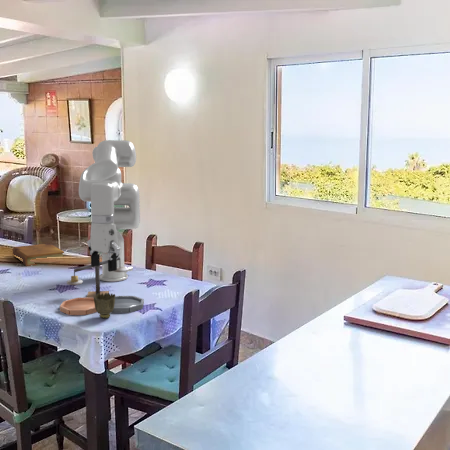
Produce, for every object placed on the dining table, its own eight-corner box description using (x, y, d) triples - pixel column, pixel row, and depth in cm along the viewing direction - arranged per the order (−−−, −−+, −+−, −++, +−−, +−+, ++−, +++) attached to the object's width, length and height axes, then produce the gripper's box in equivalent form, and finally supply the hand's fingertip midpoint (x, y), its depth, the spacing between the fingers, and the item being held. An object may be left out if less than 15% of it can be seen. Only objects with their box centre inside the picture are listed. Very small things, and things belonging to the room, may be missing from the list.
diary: (13, 258, 273) (12, 247, 272) (49, 253, 284) (49, 243, 283) (25, 267, 254) (25, 255, 253) (64, 262, 265) (64, 251, 264)
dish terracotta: (87, 299, 206) (87, 295, 206) (110, 308, 197) (110, 303, 197) (53, 308, 196) (53, 303, 195) (76, 317, 186) (75, 313, 186)
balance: (128, 293, 215) (127, 254, 213) (127, 299, 208) (127, 259, 205) (68, 294, 212) (67, 255, 209) (65, 301, 204) (64, 260, 201)
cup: (113, 321, 183) (112, 299, 182) (91, 320, 183) (91, 298, 182) (117, 314, 191) (117, 292, 189) (97, 313, 191) (96, 292, 189)
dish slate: (126, 297, 209) (126, 293, 209) (151, 306, 200) (151, 301, 200) (95, 306, 199) (95, 301, 198) (119, 315, 189) (119, 310, 189)
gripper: (127, 221, 178) (128, 270, 181) (96, 215, 189) (98, 262, 192) (109, 223, 173) (110, 274, 175) (78, 217, 184) (80, 265, 187)
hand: (103, 268), depth 184 cm, fingers open, 9 cm apart
